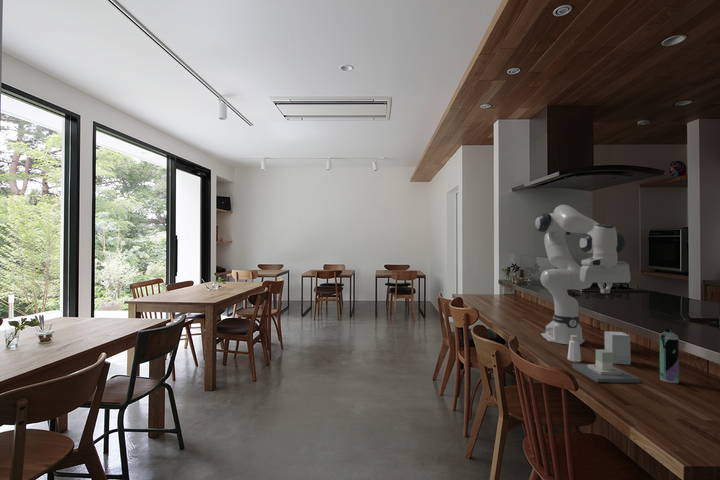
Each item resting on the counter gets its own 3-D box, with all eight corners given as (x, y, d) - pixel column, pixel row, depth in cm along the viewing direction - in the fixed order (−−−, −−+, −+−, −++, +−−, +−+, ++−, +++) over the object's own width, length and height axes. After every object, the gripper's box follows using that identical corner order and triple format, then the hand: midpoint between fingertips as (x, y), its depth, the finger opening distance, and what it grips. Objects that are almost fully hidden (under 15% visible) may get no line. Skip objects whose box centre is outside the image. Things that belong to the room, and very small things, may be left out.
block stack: (595, 369, 144) (595, 349, 144) (605, 369, 144) (605, 349, 144) (602, 372, 140) (602, 352, 140) (612, 372, 140) (612, 352, 140)
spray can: (674, 384, 132) (674, 330, 132) (657, 379, 137) (656, 327, 137) (681, 381, 135) (681, 329, 135) (664, 376, 140) (663, 326, 140)
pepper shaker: (581, 362, 156) (581, 337, 156) (567, 360, 159) (567, 336, 159) (581, 359, 161) (581, 335, 161) (567, 357, 164) (567, 333, 164)
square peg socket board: (572, 367, 150) (572, 361, 150) (609, 367, 150) (609, 361, 150) (597, 382, 134) (597, 375, 134) (639, 382, 134) (639, 375, 134)
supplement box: (631, 364, 153) (631, 335, 154) (612, 363, 155) (611, 334, 155) (622, 359, 161) (622, 331, 161) (604, 358, 162) (603, 330, 162)
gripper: (623, 261, 157) (623, 292, 157) (577, 260, 157) (577, 291, 157) (634, 261, 151) (634, 294, 151) (586, 261, 151) (586, 293, 151)
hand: (605, 293), depth 154 cm, fingers closed
